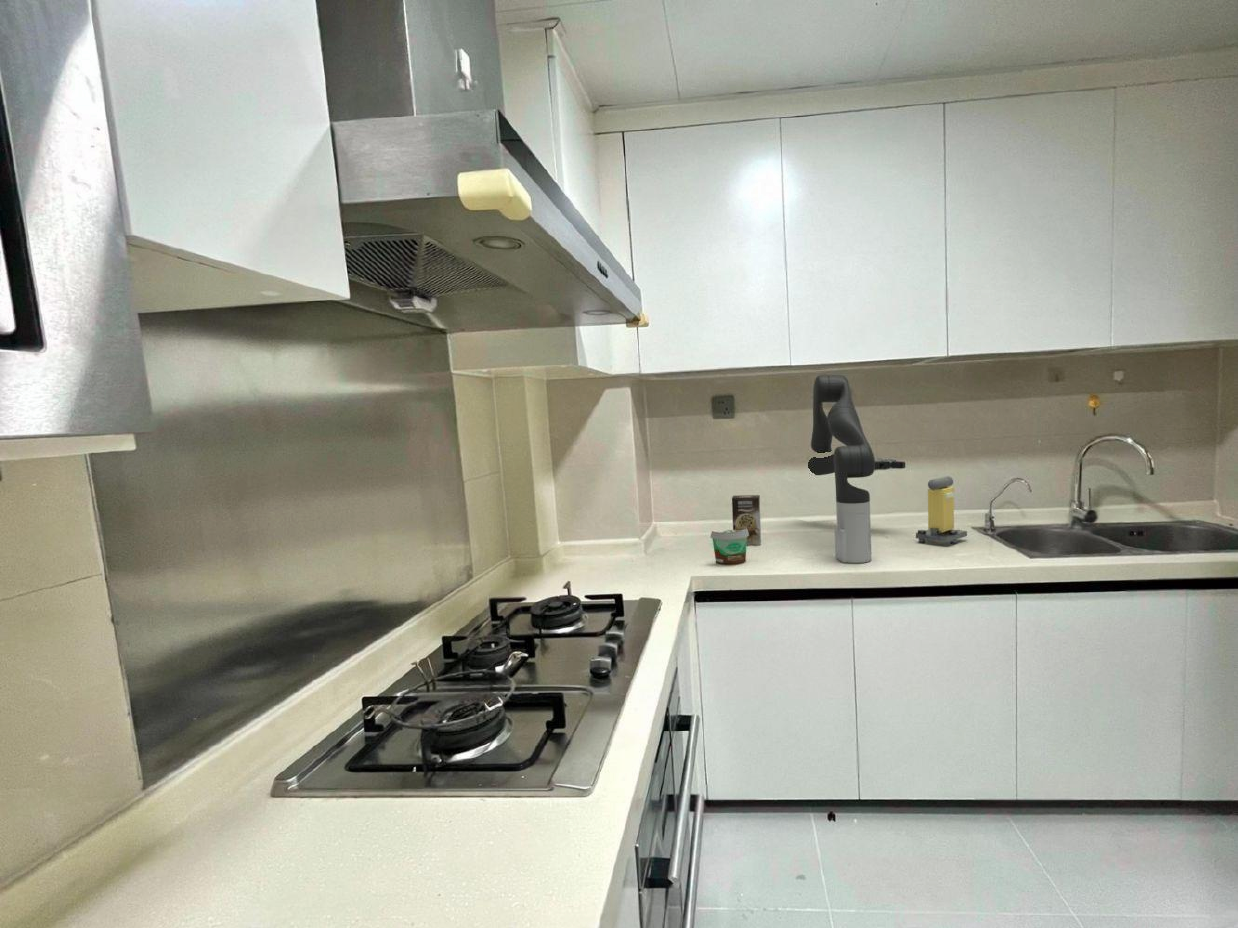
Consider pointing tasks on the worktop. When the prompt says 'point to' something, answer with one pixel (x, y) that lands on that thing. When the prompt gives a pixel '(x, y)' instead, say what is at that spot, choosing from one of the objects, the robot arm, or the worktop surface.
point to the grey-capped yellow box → (941, 504)
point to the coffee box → (747, 516)
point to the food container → (730, 546)
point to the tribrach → (940, 535)
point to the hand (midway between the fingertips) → (904, 465)
